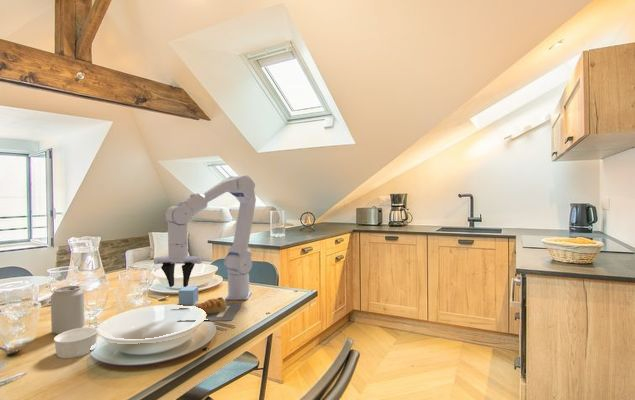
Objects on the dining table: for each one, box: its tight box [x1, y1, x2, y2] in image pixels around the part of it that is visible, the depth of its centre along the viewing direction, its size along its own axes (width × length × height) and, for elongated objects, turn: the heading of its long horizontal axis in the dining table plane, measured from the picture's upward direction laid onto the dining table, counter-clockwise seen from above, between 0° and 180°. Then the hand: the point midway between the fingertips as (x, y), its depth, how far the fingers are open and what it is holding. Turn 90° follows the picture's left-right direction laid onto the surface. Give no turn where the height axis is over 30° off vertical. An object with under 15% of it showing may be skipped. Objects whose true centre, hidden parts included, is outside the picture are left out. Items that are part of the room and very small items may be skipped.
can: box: [50, 285, 85, 336], centre depth 99 cm, size 8×8×12 cm
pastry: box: [196, 297, 226, 314], centre depth 113 cm, size 9×7×4 cm
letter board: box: [192, 302, 243, 322], centre depth 113 cm, size 16×16×1 cm
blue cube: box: [178, 286, 199, 306], centre depth 123 cm, size 5×5×5 cm
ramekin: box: [53, 326, 99, 359], centre depth 86 cm, size 9×9×4 cm
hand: (178, 286), depth 113 cm, fingers open, 4 cm apart
